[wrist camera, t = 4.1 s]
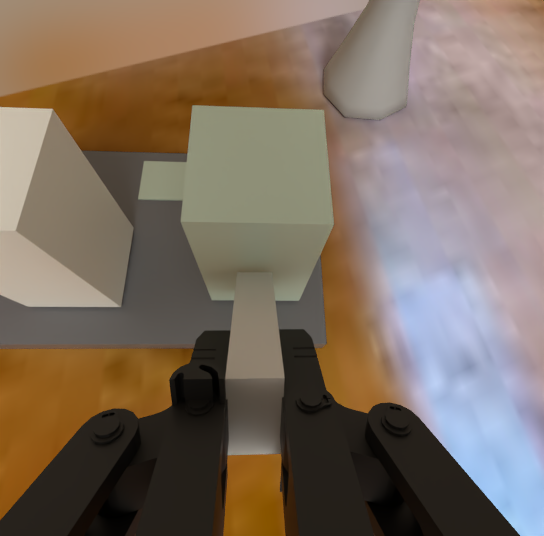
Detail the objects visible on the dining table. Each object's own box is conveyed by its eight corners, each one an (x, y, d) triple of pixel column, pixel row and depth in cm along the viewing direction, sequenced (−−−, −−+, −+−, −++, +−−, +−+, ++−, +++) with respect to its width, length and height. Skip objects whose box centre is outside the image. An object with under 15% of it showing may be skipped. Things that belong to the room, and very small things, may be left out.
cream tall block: (133, 227, 21) (52, 109, 12) (121, 307, 19) (15, 230, 10) (49, 226, 20) (-93, 103, 12) (28, 306, 18) (-157, 228, 10)
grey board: (310, 170, 25) (313, 156, 24) (321, 347, 20) (327, 343, 19) (-86, 160, 24) (-109, 144, 22) (-175, 349, 19) (-212, 344, 17)
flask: (310, 66, 29) (336, -89, 20) (386, 55, 30) (444, -97, 21) (337, 129, 27) (381, -14, 18) (419, 115, 28) (502, -28, 19)
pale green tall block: (295, 224, 21) (323, 109, 13) (299, 300, 19) (334, 224, 11) (216, 223, 21) (192, 105, 13) (211, 300, 19) (180, 221, 11)
